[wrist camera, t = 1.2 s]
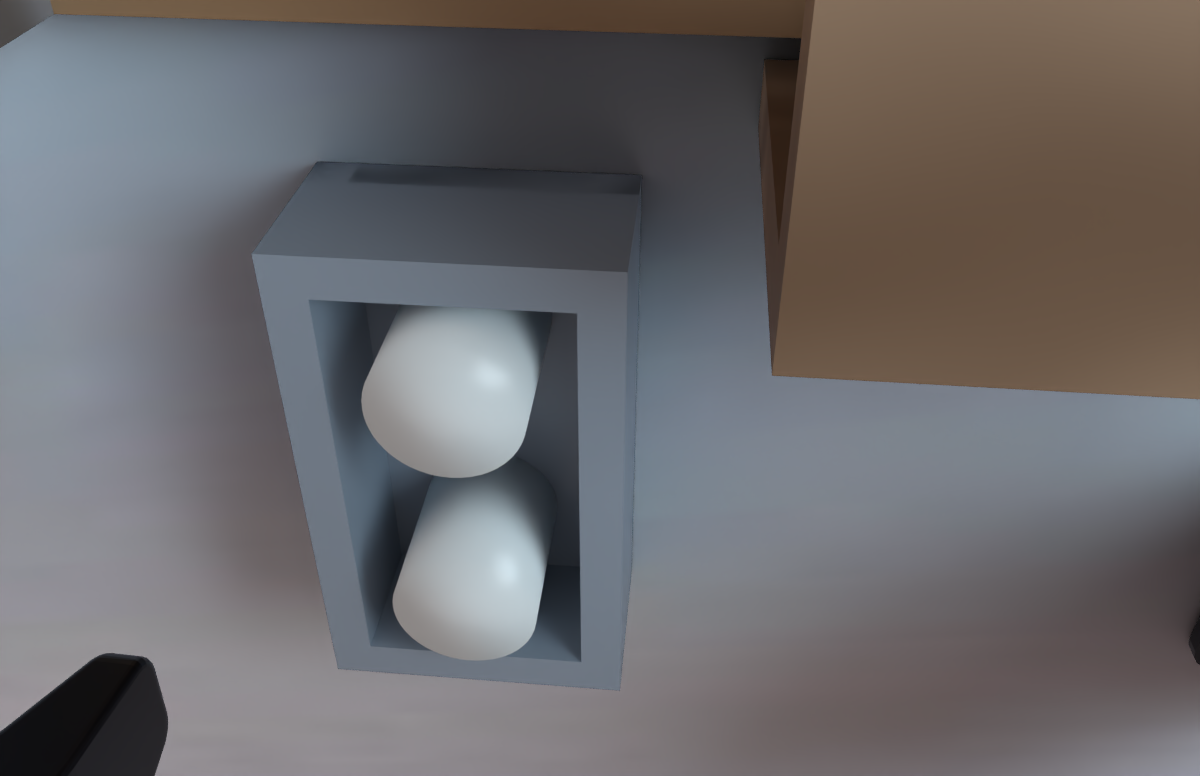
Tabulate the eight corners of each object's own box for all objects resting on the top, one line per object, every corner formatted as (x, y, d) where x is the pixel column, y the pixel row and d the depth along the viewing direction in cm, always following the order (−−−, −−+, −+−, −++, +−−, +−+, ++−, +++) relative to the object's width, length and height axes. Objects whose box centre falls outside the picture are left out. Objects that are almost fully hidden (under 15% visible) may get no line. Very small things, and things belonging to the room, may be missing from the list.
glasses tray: (632, 570, 26) (617, 710, 23) (380, 552, 26) (331, 687, 23) (641, 175, 20) (625, 288, 17) (317, 161, 20) (240, 269, 17)
